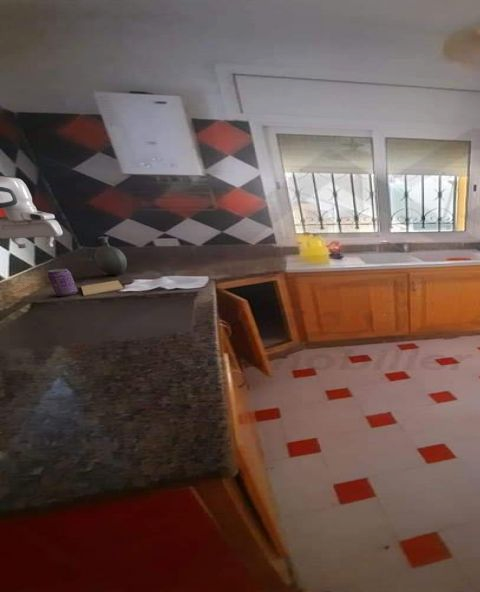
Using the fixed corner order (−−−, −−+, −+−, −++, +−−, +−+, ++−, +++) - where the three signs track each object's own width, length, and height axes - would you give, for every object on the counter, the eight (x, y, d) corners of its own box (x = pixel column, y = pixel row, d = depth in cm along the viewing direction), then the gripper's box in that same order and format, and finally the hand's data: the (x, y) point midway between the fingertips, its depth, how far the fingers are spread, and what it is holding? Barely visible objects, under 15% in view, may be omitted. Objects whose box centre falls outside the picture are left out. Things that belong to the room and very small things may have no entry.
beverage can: (66, 292, 153) (56, 268, 149) (82, 291, 153) (73, 267, 149) (52, 297, 146) (41, 272, 142) (68, 296, 147) (58, 271, 143)
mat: (84, 295, 148) (83, 294, 147) (81, 287, 160) (80, 286, 160) (123, 288, 157) (123, 287, 157) (118, 281, 170) (117, 280, 170)
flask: (106, 279, 173) (91, 239, 165) (99, 274, 182) (84, 236, 175) (133, 275, 182) (120, 236, 174) (125, 270, 191) (113, 234, 184)
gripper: (-16, 217, 131) (-1, 250, 135) (47, 215, 137) (60, 247, 141) (-3, 216, 136) (11, 247, 141) (58, 214, 142) (70, 245, 147)
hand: (36, 247), depth 141 cm, fingers open, 8 cm apart
